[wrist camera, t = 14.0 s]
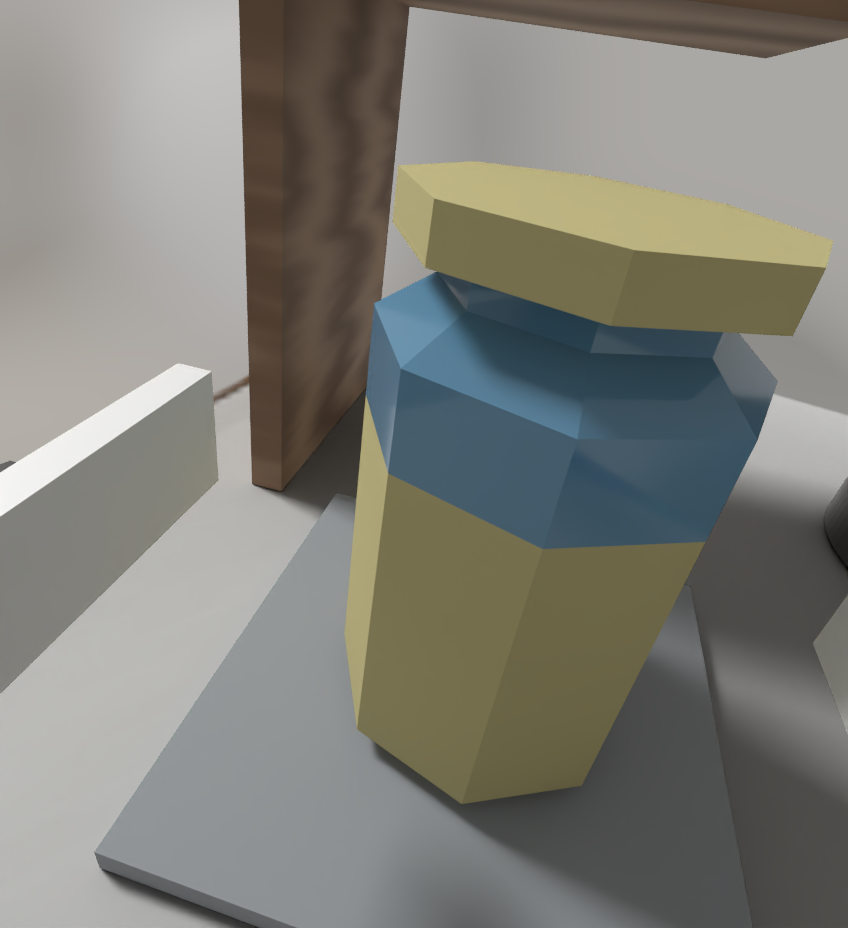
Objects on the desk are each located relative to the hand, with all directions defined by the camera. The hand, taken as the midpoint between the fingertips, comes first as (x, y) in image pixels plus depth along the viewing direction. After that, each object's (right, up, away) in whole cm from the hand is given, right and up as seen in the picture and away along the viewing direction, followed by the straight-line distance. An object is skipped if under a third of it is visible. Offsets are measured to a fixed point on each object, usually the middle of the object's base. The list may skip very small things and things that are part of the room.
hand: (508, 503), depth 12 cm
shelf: (+1, +1, +21) cm, 21 cm away
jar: (0, -7, +8) cm, 11 cm away
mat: (0, -7, +8) cm, 11 cm away
